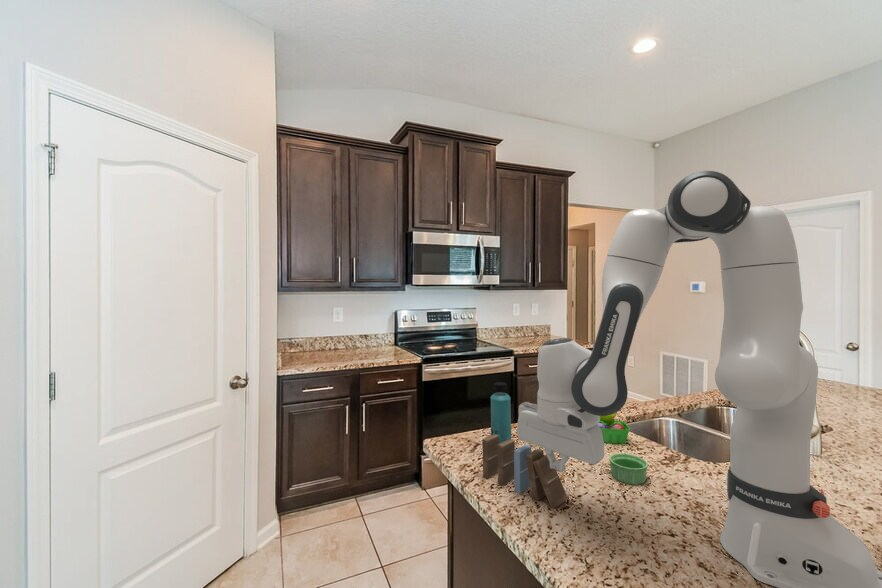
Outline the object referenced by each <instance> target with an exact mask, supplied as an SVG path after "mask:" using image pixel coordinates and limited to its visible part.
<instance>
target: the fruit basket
mask: <svg viewBox="0 0 882 588" xmlns="http://www.w3.org/2000/svg"><path fill="white" fill-rule="evenodd" d="M616 416H617V415H616V413H614V414H612V415H608V416H600V422H599V423H598V424H596V425H598V426H599V427H600V429H601V431H602V434H603V441H604V443H608V444H622V445H626V444H627V440H628V436H629V433H630V430H631V428H630V427H629V425H628V424H627V423H626V422H625V421H622V420H614V419H615V418H616Z"/></svg>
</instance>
